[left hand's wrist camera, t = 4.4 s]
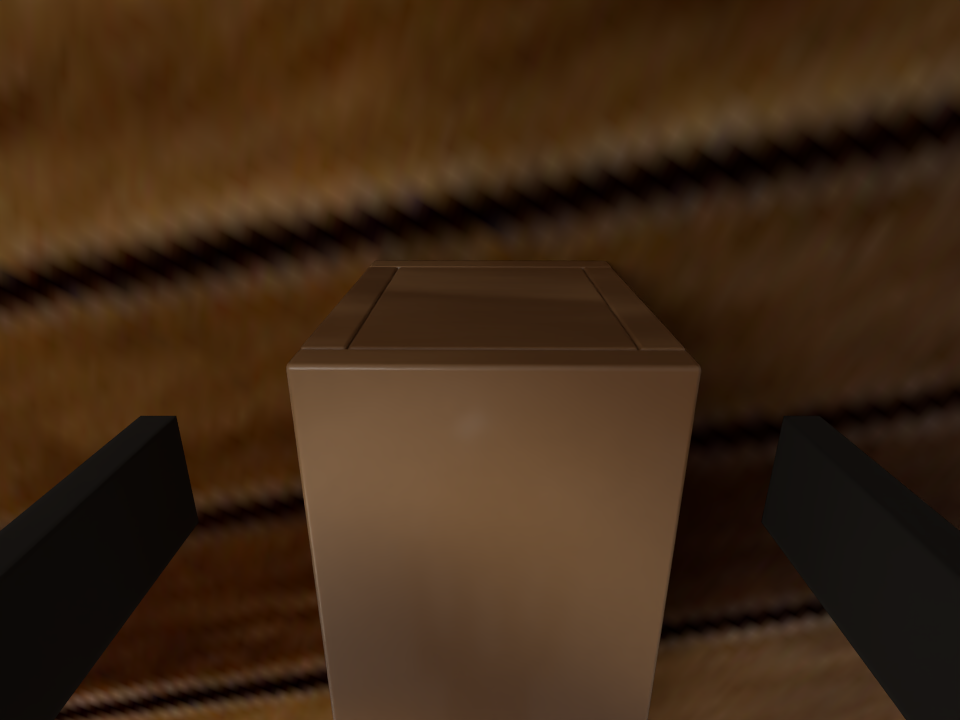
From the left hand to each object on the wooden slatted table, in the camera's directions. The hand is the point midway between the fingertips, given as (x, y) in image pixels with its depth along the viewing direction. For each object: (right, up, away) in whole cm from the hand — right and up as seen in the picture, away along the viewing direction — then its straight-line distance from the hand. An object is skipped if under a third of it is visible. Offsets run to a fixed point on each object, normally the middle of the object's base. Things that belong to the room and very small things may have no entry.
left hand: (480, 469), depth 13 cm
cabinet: (0, -2, +7) cm, 7 cm away
